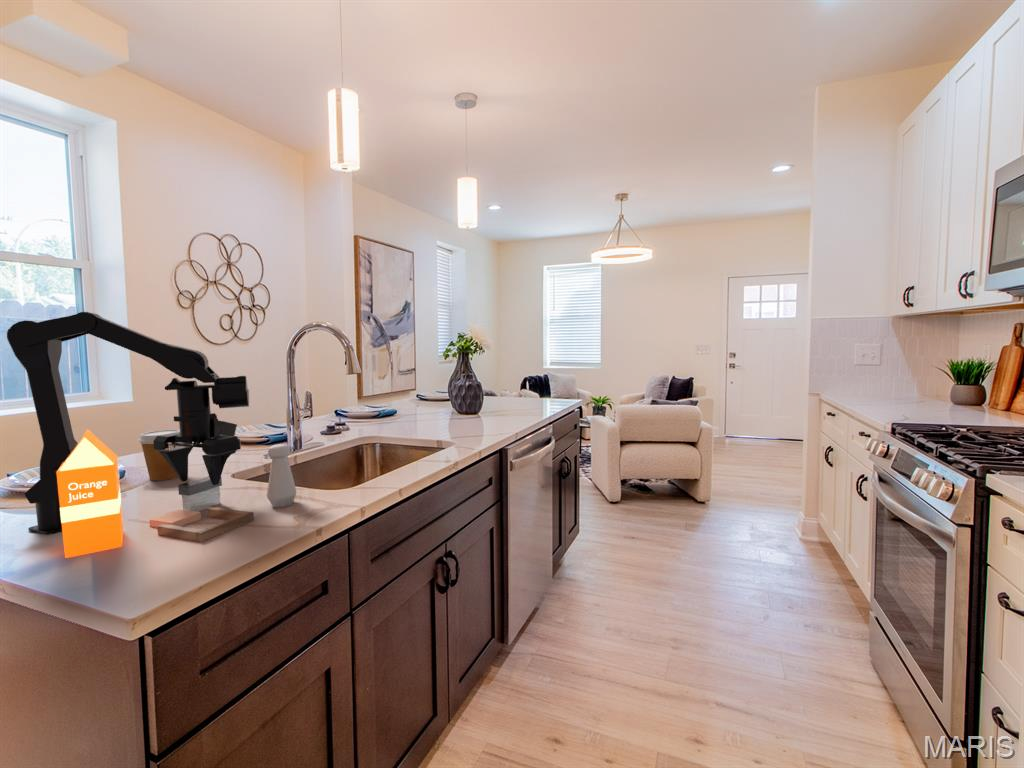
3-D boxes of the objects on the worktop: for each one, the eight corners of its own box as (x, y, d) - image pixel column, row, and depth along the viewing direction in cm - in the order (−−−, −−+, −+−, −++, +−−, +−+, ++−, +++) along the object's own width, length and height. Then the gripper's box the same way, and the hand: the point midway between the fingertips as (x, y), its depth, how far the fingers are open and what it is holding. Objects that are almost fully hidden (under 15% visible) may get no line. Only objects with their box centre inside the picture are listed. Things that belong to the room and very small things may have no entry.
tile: (150, 528, 98) (149, 519, 97) (179, 517, 103) (179, 509, 103) (172, 532, 96) (171, 522, 95) (201, 521, 101) (200, 512, 101)
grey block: (180, 513, 105) (178, 485, 104) (213, 502, 112) (211, 475, 111) (190, 514, 104) (188, 486, 103) (223, 503, 111) (221, 476, 110)
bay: (157, 534, 93) (157, 526, 93) (212, 514, 103) (212, 506, 103) (201, 541, 89) (200, 533, 89) (253, 520, 100) (253, 512, 99)
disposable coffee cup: (169, 482, 129) (166, 435, 127) (132, 482, 129) (128, 436, 128) (193, 472, 138) (190, 429, 137) (159, 472, 138) (155, 429, 137)
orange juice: (63, 558, 83) (51, 439, 82) (70, 541, 90) (59, 431, 89) (123, 546, 88) (113, 433, 86) (124, 531, 95) (115, 426, 93)
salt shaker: (285, 509, 106) (281, 448, 105) (261, 508, 107) (257, 447, 106) (302, 500, 111) (299, 442, 110) (279, 499, 113) (275, 442, 111)
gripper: (259, 406, 110) (264, 476, 112) (198, 404, 117) (203, 470, 118) (213, 413, 100) (219, 491, 101) (149, 410, 106) (155, 483, 108)
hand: (199, 482), depth 107 cm, fingers open, 9 cm apart
